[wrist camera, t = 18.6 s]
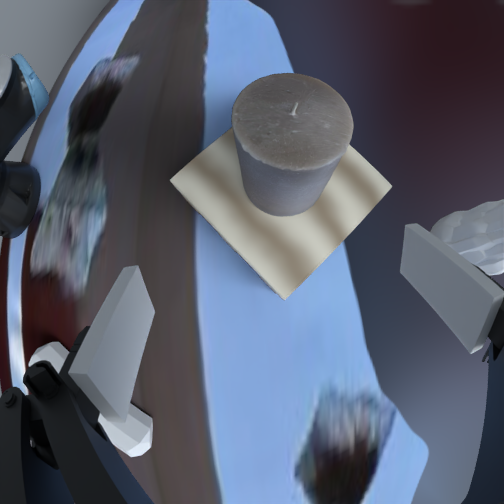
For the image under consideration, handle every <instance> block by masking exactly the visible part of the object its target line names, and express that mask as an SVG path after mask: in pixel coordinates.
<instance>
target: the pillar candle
mask: <svg viewBox="0 0 504 504" xmlns="http://www.w3.org/2000/svg"><path fill="white" fill-rule="evenodd" d="M231 122H232V128H233V134H234V139H235V144H236V149H237V154H238V159H239V164H240V170H241V175H242V181H243V186H244V189H245V192H246V194H247V196H248V198H249V199H250V201H251V202H252V203H253V204H254V205H255V206H256V207H257V208H259V209H260V210H261V211H263V212H265V213H267V214H270V215H273V216H280V217H283V216H294V215H297V214H301V213H303V212H305V211H306V210H308V209H309V208H311V207H312V206H313V205H314V204H315V202H316V201H317V200H318V199H319V197H320V196H321V194H322V192H323V190H324V188H325V187H326V185H327V183H328V182H329V180H330V178H331V176H332V174H333V172H334V170H335V169H336V167H337V165H338V163H339V162H340V160H341V158H342V156H343V155H344V154H345V153H346V151H347V147H348V146H349V143H350V140H351V138H352V132H353V120H352V115H351V111H350V109H349V107H348V105H347V103H346V102H345V101H344V99H343V98H342V97H341V95H339V94H338V93H337V92H336V91H335V90H334V89H333V88H331V87H330V86H328V85H327V84H326V83H323V82H322V81H320V80H319V79H315V78H312V77H309V76H306V75H303V74H294V73H282V74H272V75H269V76H266V77H262V78H259V79H257V80H255V81H254V82H252V83H251V84H249V85H248V86H247V87H246V88H244V89H243V90H242V91H241V93H240V94H239V95H238V97H237V98H236V101H235V103H234V105H233V109H232V120H231Z"/></svg>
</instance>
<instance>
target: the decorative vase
mask: <svg viewBox="0 0 504 504" xmlns="http://www.w3.org/2000/svg"><path fill="white" fill-rule="evenodd" d="M430 233H432V234H433V235H434V236H436V237H437V238H439V239H440V240H441V241H443V242H444V243H445V244H447V245H448V246H449V247H451V248H452V249H453V250H455V251H456V252H457V253H459V254H460V255H461V256H463V257H464V258H465V259H466V260H468V261H469V262H470V263H472V264H474V265H476V266H478V267H479V268H480V269H482V270H483V271H484V272H485V274H488V275H496V274H501V273H503V272H504V199H503V200H500V201H495V202H486V203H484V204H481V205H480V206H477V207H475V208H473V209H471V210H468V211H456V212H454V213H452V214H449V215H447V216H445V217H443V218H441V219H440V220H438V221H437V222H436V223H435V224H434V225H433V227H432V230H430Z"/></svg>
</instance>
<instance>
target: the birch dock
mask: <svg viewBox="0 0 504 504" xmlns="http://www.w3.org/2000/svg"><path fill="white" fill-rule="evenodd" d="M170 181H171V183H172V184H173V185H174V186H175V188H176V189H177V190H178V191H179V192H180V193H181V194H182V196H183V197H184V198H185V199H186V201H187V202H188V203H189V204H190V205H191V206H192V207H193V208H194V209H195V210H196V211H197V212H198V213H199V214H201V215H202V216H203V217H204V218H205V219H206V220H207V222H208V223H209V224H210V225H211V226H212V227H213V228H214V229H215V230H216V231H217V232H218V233H219V235H220V236H221V237H222V238H223V240H224V241H225V242H226V243H227V244H228V245H229V246H230V247H231V248H232V249H233V250H234V251H235V252H236V253H238V254H239V255H240V256H241V257H242V258H243V259H244V260H245V261H246V262H247V263H248V264H249V265H250V266H251V267H252V268H253V270H254V271H255V272H256V273H257V274H258V275H259V276H260V278H261V279H262V280H263V281H264V282H265V283H266V284H267V285H268V286H269V287H270V288H271V289H272V290H273V291H274V292H275V293H276V294H278V295H279V296H280V297H281V298H282V299H283V300H285V299H286V298H287V297H288V296H289V295H290V294H291V293H292V292H293V291H294V290H295V289H296V288H298V287H299V286H300V285H301V284H302V283H303V282H304V281H305V280H306V279H307V278H308V277H309V276H310V275H311V273H312V272H313V271H314V270H315V269H316V268H317V267H318V266H319V265H320V264H321V263H322V262H323V261H324V260H325V259H326V258H327V257H328V256H329V255H330V254H331V253H332V252H333V251H334V250H335V249H336V248H337V247H338V246H339V245H340V244H341V242H342V241H343V240H344V239H345V238H346V237H347V236H348V235H349V234H350V233H351V232H352V231H353V230H354V229H355V227H356V226H357V225H358V224H359V223H360V222H361V221H362V220H363V219H364V218H365V217H366V215H367V214H368V213H369V212H370V211H371V210H372V209H373V207H374V206H375V205H376V204H377V203H378V202H379V201H380V200H381V199H382V198H383V196H384V195H385V194H386V193H387V192H388V191H389V190H390V188H391V187H392V185H391V184H390V183H389V182H388V181H387V180H386V179H385V178H384V177H383V176H382V175H381V174H380V173H379V172H378V171H377V170H376V169H375V168H374V167H373V166H372V165H371V164H370V163H368V161H366V160H365V159H364V158H363V157H362V156H361V155H360V154H359V153H358V152H357V151H356V150H355V149H354V148H352V147H351V146H350V145H349V146H348V147H347V151H346V153H345V154H344V155H343V156H342V158H341V160H340V162H339V163H338V165H337V167H336V169H335V170H334V172H333V174H332V176H331V178H330V180H329V182H328V183H327V185H326V187H325V188H324V190H323V192H322V194H321V196H320V197H319V199H318V200H317V201H316V202H315V204H314V205H313V206H312V207H311V208H309V209H308V210H306V211H305V212H303V213H301V214H297V215H294V216H283V217H280V216H273V215H270V214H267V213H265V212H263V211H261V210H260V209H259V208H257V207H256V206H255V205H254V204H253V203H252V202H251V201H250V199H249V198H248V196H247V194H246V192H245V189H244V186H243V181H242V175H241V170H240V164H239V159H238V154H237V149H236V144H235V139H234V134H233V128H230V129H229V130H228V131H227V132H225V133H224V134H223V135H222V136H220V137H219V138H218V139H217V140H215V141H214V142H213V143H212V144H211V145H209V146H208V147H207V148H206V149H205V150H203V151H202V152H201V153H200V154H199V155H197V156H196V157H195V158H194V159H193V160H192V161H191V162H189V163H188V164H187V165H186V166H185V167H184V168H183V169H181V170H180V171H179V172H178V173H177V174H176V175H175V176H174V177H173V178H172V179H170Z"/></svg>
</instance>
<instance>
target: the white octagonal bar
mask: <svg viewBox="0 0 504 504" xmlns="http://www.w3.org/2000/svg"><path fill="white" fill-rule="evenodd" d="M69 353H70V352H69V351H68V350H67V349H66V348H64V347H63V346H62V345H61V344H60V343H59V342H51V343H48V344H46V345H44V346H42V347H40V348H37V350H36V351H35V353H34V354H33V356H32V358H31V360H30V362H29V367H30V366H31V365H33V364H34V363H36V362H38V361H41V360H47V361H49V362H50V363H51V364H52V365H53V367H54V368H55V370H56V371H57V372H58V374H59V372H60V370H61V368H62V366H63V364H64V362H65V360H66V358H67V356H68V354H69ZM98 422H99V423H100V424H101V425H102V427H103V428H104V430H105V432H106V434H107V435H108V437H109V439H110V441H111V442H112V444H113V445H115V446H116V447H117V448H119V449H120V450H122V451H123V452H125V453H126V454H127V455H129V456H130V457H134V456H140V455H142V454H143V453H145V452H146V451H147V450H148V449H150V448H151V444H152V433H153V424H152V418H151V417H149V416H148V415H147V414H145V413H144V412H142V411H141V410H139V409H138V408H136V407H135V406H134V405H132V404H131V403H130V405H129V409H128V413H127V418H126V422H125V423H121V422H109V421H107V420H106V419H105V418H104V417H103V416H102V414H101V413H100V415H99V418H98Z"/></svg>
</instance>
